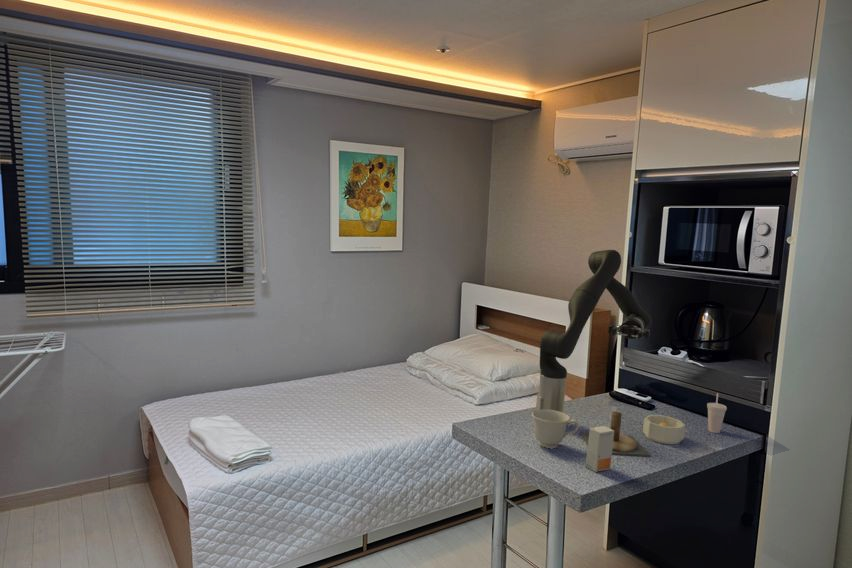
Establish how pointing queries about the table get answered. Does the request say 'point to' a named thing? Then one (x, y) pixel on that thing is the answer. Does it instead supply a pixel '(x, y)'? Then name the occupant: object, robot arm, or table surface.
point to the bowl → (663, 429)
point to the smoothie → (715, 416)
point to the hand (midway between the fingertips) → (626, 334)
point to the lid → (621, 436)
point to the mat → (637, 452)
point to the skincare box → (600, 448)
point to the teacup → (551, 427)
